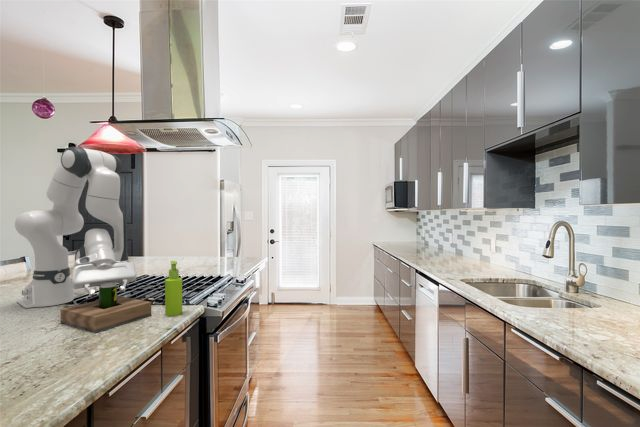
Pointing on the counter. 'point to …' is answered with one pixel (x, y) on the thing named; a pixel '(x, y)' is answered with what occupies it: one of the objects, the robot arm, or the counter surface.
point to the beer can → (107, 295)
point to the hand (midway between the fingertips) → (108, 293)
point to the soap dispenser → (173, 292)
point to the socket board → (105, 314)
